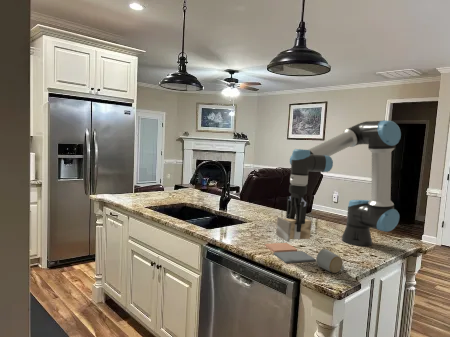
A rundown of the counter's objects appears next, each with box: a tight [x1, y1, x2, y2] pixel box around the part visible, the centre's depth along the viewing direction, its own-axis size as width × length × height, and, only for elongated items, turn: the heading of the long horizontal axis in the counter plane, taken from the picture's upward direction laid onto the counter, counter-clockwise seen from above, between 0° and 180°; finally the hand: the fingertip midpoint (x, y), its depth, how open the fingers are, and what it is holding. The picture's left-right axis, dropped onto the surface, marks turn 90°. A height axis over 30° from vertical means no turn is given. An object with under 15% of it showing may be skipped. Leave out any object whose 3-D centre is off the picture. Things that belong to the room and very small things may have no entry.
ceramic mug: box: [315, 248, 345, 274], centre depth 132 cm, size 11×8×8 cm
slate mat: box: [272, 250, 316, 264], centre depth 144 cm, size 15×11×1 cm
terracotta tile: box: [264, 242, 298, 253], centre depth 155 cm, size 2×10×12 cm
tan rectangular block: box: [275, 216, 312, 243], centre depth 143 cm, size 13×10×8 cm
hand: (293, 237), depth 143 cm, fingers closed on tan rectangular block, 4 cm apart
